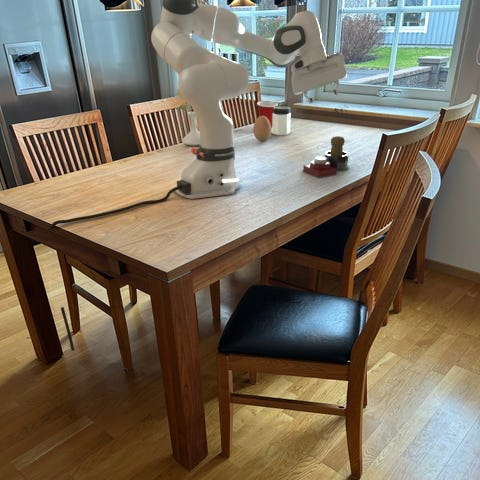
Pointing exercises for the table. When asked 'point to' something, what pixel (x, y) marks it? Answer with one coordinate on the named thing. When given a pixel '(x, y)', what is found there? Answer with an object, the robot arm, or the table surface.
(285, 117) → the jar
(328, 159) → the cup
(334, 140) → the olive yellow knobbed peg
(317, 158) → the button
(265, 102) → the plastic cup
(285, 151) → the table surface
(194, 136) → the flower in vase
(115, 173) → the table surface
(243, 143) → the table surface
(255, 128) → the egg
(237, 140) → the table surface
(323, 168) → the panel
